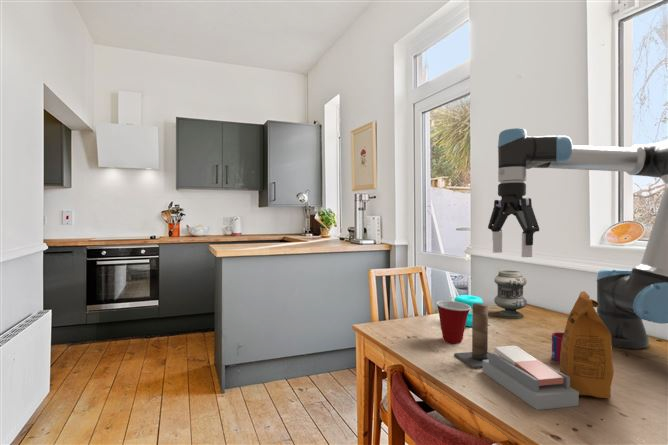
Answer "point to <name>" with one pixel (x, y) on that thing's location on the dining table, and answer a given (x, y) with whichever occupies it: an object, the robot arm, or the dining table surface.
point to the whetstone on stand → (530, 385)
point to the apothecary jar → (510, 293)
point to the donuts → (469, 301)
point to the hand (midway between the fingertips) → (511, 254)
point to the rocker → (529, 365)
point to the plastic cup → (452, 320)
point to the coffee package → (587, 350)
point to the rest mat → (470, 360)
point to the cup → (556, 345)
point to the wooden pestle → (479, 331)
